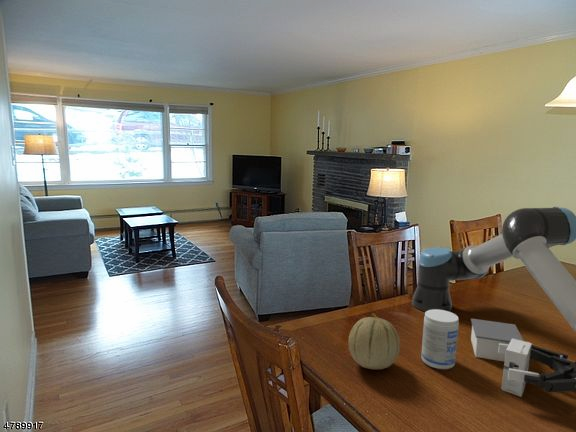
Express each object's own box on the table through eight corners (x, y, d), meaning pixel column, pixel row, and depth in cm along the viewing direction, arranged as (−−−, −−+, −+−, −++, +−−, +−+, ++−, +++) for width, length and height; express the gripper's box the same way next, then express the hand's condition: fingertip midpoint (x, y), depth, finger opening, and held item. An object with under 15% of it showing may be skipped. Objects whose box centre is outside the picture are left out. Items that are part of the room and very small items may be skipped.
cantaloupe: (361, 384, 105) (363, 332, 102) (339, 356, 119) (340, 310, 116) (409, 376, 109) (413, 325, 106) (382, 350, 123) (385, 305, 120)
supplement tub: (452, 374, 110) (457, 325, 107) (417, 365, 115) (421, 317, 112) (456, 358, 118) (461, 312, 116) (424, 350, 123) (427, 306, 120)
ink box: (507, 375, 110) (511, 336, 108) (527, 382, 107) (532, 342, 105) (500, 390, 103) (505, 348, 101) (521, 397, 100) (527, 355, 98)
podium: (473, 357, 119) (475, 335, 118) (469, 338, 131) (471, 318, 130) (522, 365, 115) (524, 343, 114) (512, 344, 127) (515, 324, 126)
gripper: (619, 421, 87) (511, 400, 94) (577, 364, 110) (494, 350, 117) (624, 391, 86) (515, 372, 92) (581, 339, 109) (496, 327, 116)
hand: (503, 360), depth 105 cm, fingers open, 13 cm apart
